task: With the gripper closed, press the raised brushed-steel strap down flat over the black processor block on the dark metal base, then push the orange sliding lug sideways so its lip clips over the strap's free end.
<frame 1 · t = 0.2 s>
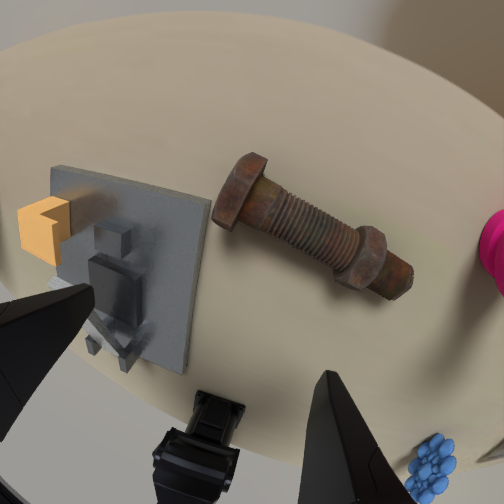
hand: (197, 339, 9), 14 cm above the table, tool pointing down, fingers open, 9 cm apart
strap: (93, 326, 22), point 6 cm above the table, hinge at 25.0°
pepper mill: (501, 240, 18), on the table
grapes: (428, 441, 30), on the table
bolt: (322, 228, 21), on the table
lug: (53, 228, 22), point 4 cm above the table, slide at 0.0 cm
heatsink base: (117, 271, 27), on the table
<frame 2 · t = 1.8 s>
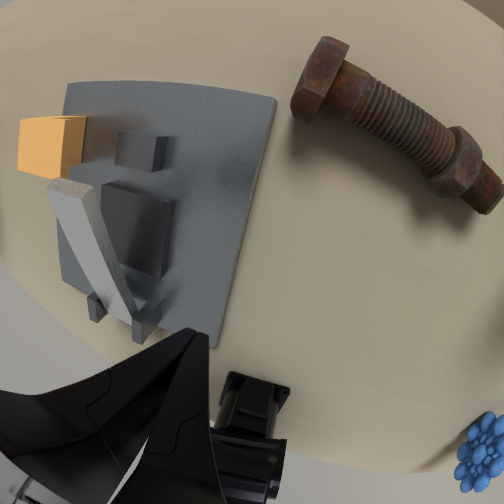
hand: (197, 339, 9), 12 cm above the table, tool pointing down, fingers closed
strap: (101, 269, 17), point 6 cm above the table, hinge at 25.0°
grapes: (476, 423, 24), on the table
bolt: (403, 136, 16), on the table
lug: (61, 143, 16), point 4 cm above the table, slide at 0.0 cm
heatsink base: (138, 207, 21), on the table
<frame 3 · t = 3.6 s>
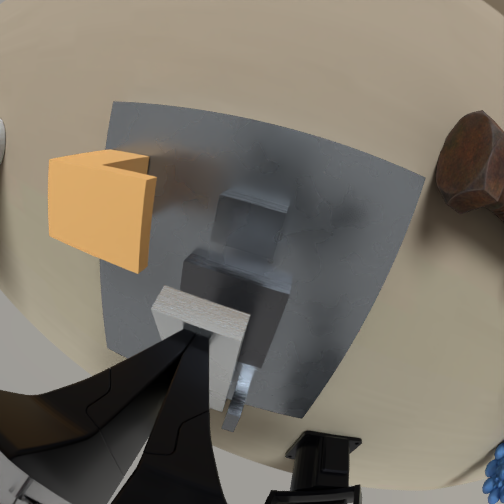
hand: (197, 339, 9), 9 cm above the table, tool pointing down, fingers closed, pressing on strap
strap: (203, 375, 14), point 6 cm above the table, hinge at 23.3°, touching gripper
grapes: (502, 442, 21), on the table
lug: (119, 199, 13), point 4 cm above the table, slide at 0.0 cm
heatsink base: (224, 280, 18), on the table
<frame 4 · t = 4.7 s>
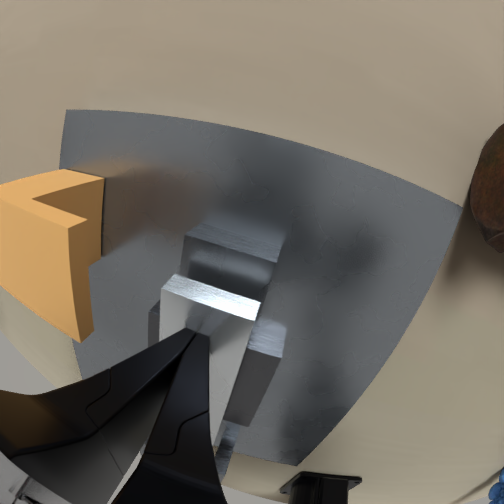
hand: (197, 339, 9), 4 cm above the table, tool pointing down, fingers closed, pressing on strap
strap: (192, 408, 12), point 4 cm above the table, hinge at 2.8°, touching gripper
lug: (64, 237, 9), point 4 cm above the table, slide at 0.0 cm
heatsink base: (203, 328, 14), on the table
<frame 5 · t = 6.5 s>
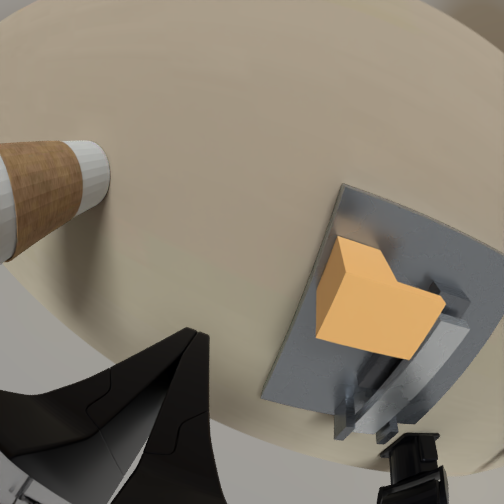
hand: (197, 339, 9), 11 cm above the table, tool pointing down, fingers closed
strap: (402, 387, 18), point 4 cm above the table, hinge at 2.8°
coffee cup: (87, 173, 20), on the table
lug: (375, 297, 15), point 4 cm above the table, slide at 0.0 cm
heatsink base: (396, 336, 20), on the table
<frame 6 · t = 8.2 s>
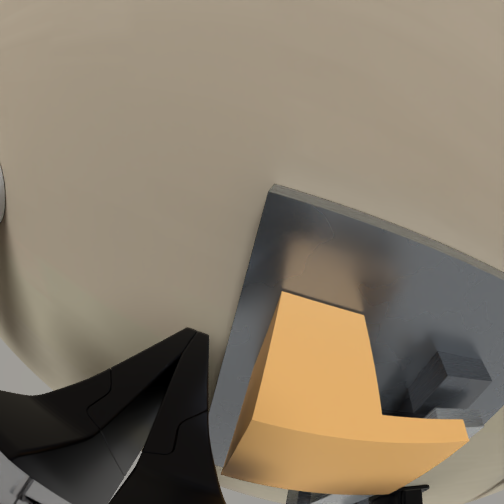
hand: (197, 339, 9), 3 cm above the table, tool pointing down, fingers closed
strap: (373, 478, 10), point 4 cm above the table, hinge at 2.8°
lug: (343, 406, 7), point 4 cm above the table, slide at 0.8 cm, touching gripper
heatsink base: (374, 410, 13), on the table
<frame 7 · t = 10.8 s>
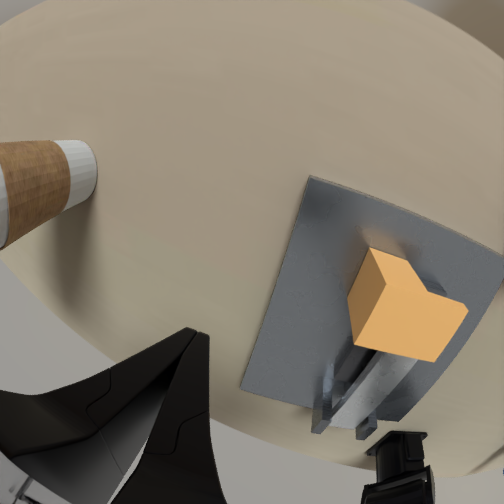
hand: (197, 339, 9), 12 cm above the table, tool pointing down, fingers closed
strap: (378, 380, 18), point 4 cm above the table, hinge at 2.8°
coffee cup: (77, 170, 21), on the table
lug: (404, 304, 15), point 4 cm above the table, slide at 4.5 cm
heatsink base: (373, 329, 21), on the table
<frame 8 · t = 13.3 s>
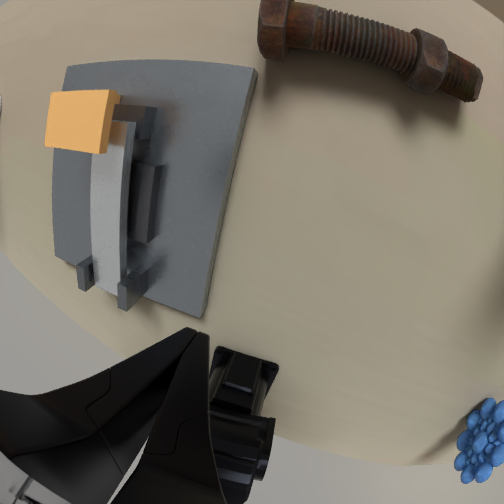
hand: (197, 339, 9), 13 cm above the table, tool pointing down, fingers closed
strap: (108, 214, 19), point 4 cm above the table, hinge at 2.8°
grapes: (476, 410, 25), on the table
bolt: (373, 56, 15), on the table
lug: (96, 119, 16), point 4 cm above the table, slide at 4.5 cm
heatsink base: (128, 177, 22), on the table
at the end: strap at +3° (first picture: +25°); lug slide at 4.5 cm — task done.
